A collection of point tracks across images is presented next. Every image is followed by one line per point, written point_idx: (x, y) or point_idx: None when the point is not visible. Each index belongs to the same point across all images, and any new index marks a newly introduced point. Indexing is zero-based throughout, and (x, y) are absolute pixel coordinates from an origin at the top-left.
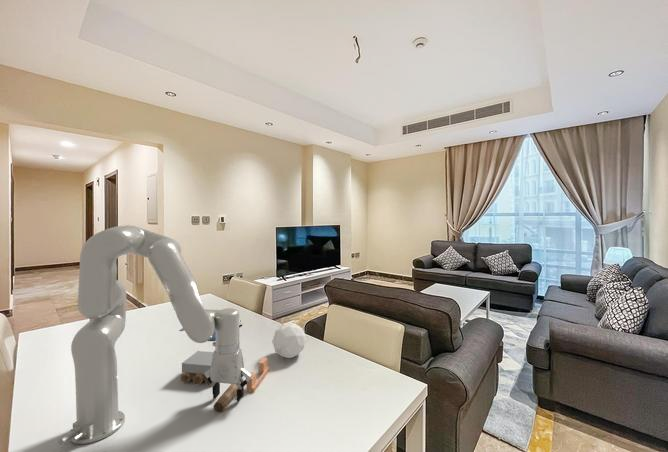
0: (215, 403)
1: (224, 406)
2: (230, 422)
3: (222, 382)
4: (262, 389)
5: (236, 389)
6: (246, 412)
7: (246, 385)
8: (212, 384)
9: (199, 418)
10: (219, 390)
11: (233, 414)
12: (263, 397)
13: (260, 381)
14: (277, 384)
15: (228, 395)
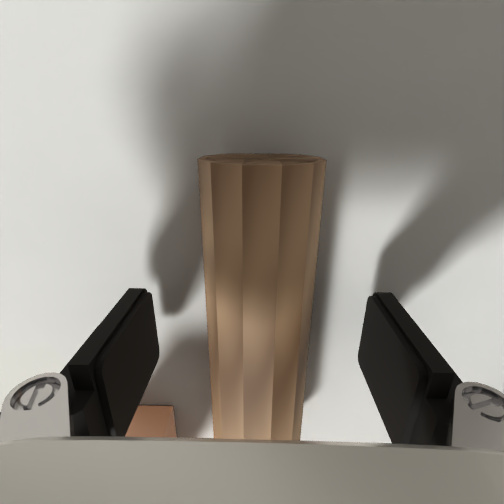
0: (304, 161)
1: (199, 174)
2: (60, 22)
3: (291, 451)
4: None
5: (214, 406)
6: (14, 192)
7: None
8: (491, 413)
9: (415, 27)
10: (368, 378)
11: (108, 147)
12: (14, 369)
13: None
14: None
15: (223, 313)
